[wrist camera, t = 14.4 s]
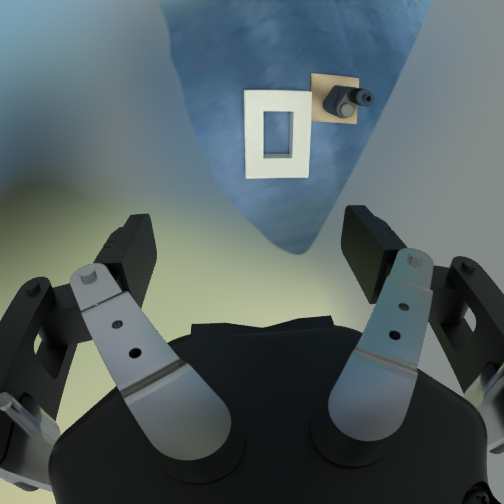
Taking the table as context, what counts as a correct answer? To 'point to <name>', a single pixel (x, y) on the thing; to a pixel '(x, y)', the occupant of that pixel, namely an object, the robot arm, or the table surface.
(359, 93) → the vaping device
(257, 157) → the white cutout frame
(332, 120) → the tan rectangular block
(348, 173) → the table surface
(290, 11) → the table surface
